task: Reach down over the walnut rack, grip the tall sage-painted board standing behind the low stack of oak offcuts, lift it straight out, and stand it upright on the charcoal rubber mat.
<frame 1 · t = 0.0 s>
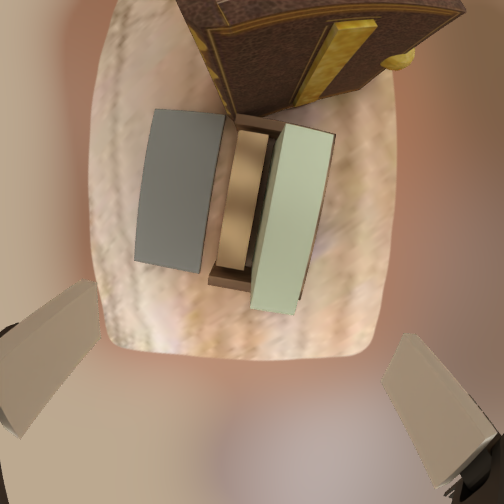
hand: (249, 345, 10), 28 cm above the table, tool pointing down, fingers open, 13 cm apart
offcut stack: (241, 201, 34), in the rack
rack: (277, 206, 37), on the table
book: (300, 83, 32), on the table
pale green slab: (282, 213, 30), in the rack
mat: (176, 189, 36), on the table
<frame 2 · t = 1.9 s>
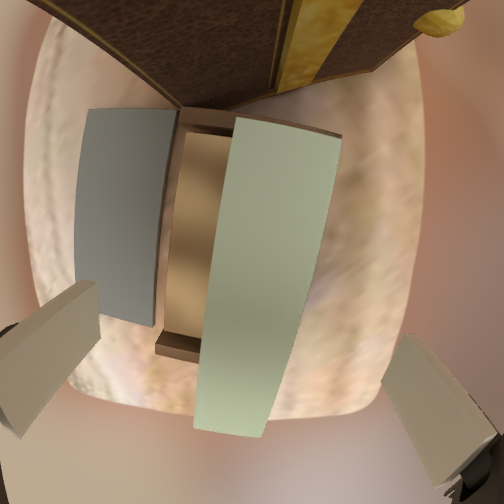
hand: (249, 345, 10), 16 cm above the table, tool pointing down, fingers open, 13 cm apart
offcut stack: (197, 239, 23), in the rack
rack: (253, 241, 26), on the table
book: (287, 60, 21), on the table
pale green slab: (252, 267, 19), in the rack
mat: (116, 218, 25), on the table
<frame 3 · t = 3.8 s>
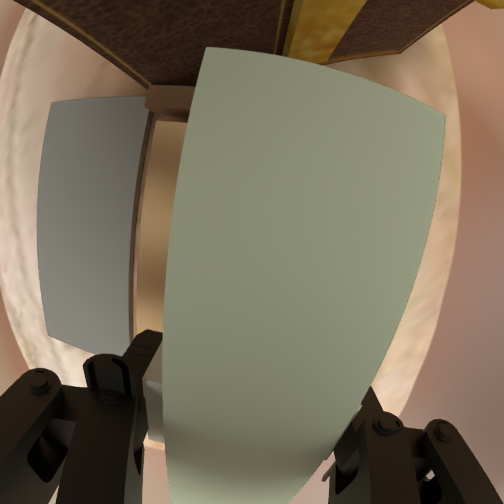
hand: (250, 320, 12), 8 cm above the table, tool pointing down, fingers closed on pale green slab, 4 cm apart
offcut stack: (177, 267, 17), in the rack
rack: (252, 267, 20), on the table
book: (296, 35, 15), on the table
pale green slab: (250, 318, 13), in the rack, touching gripper
mat: (82, 235, 19), on the table
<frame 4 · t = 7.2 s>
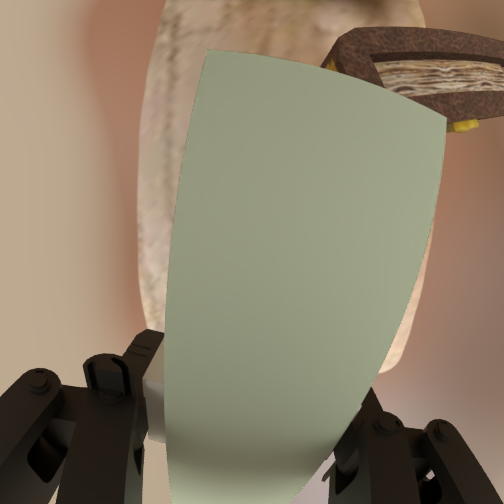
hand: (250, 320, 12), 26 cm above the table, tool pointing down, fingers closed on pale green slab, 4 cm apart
book: (359, 124, 34), on the table
pale green slab: (251, 319, 13), point 26 cm above the table, touching gripper
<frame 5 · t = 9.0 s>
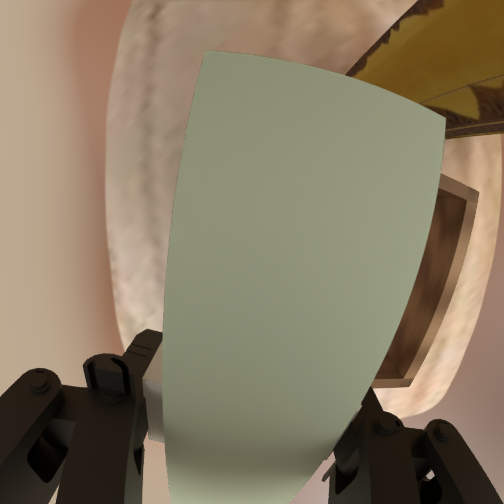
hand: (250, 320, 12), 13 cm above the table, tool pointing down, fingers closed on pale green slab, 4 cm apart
rack: (388, 272, 26), on the table
book: (418, 105, 21), on the table
pale green slab: (250, 319, 13), point 13 cm above the table, touching gripper
when the fingers open (9 cm above the table, at t = 10.4 s): pale green slab stays where it is, resting on mat.
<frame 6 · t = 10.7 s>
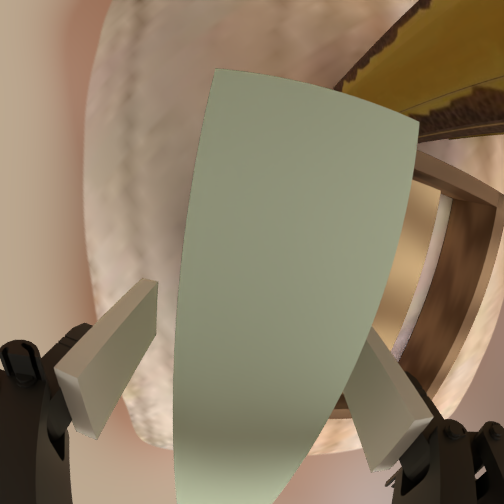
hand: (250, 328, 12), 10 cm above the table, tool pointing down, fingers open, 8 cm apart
offcut stack: (373, 292, 19), in the rack
rack: (405, 287, 22), on the table
book: (438, 98, 18), on the table
pale green slab: (251, 309, 13), on the mat, point 8 cm above the table
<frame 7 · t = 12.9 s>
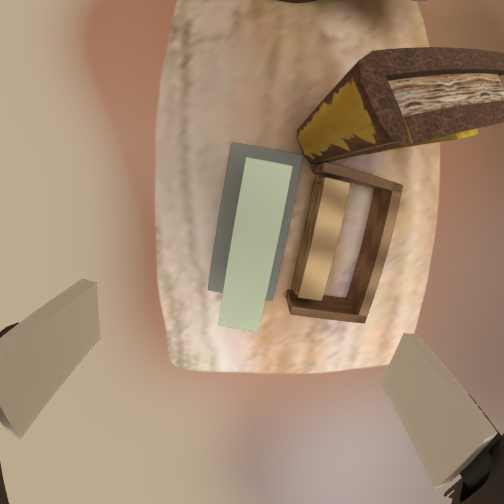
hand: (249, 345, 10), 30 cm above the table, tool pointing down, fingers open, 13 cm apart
offcut stack: (319, 239, 38), in the rack
rack: (344, 241, 40), on the table
book: (365, 127, 36), on the table
pale green slab: (253, 235, 32), on the mat, point 8 cm above the table
mat: (253, 224, 40), on the table
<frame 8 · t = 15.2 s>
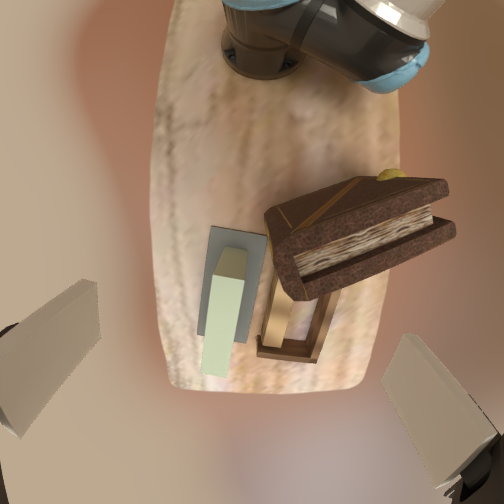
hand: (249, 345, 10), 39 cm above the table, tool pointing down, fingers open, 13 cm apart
offcut stack: (279, 302, 49), in the rack
rack: (302, 300, 52), on the table
book: (324, 206, 47), on the table
pale green slab: (225, 308, 43), on the mat, point 8 cm above the table
mat: (229, 288, 51), on the table
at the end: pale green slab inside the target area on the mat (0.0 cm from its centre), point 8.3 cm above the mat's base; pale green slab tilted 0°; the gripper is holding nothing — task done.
